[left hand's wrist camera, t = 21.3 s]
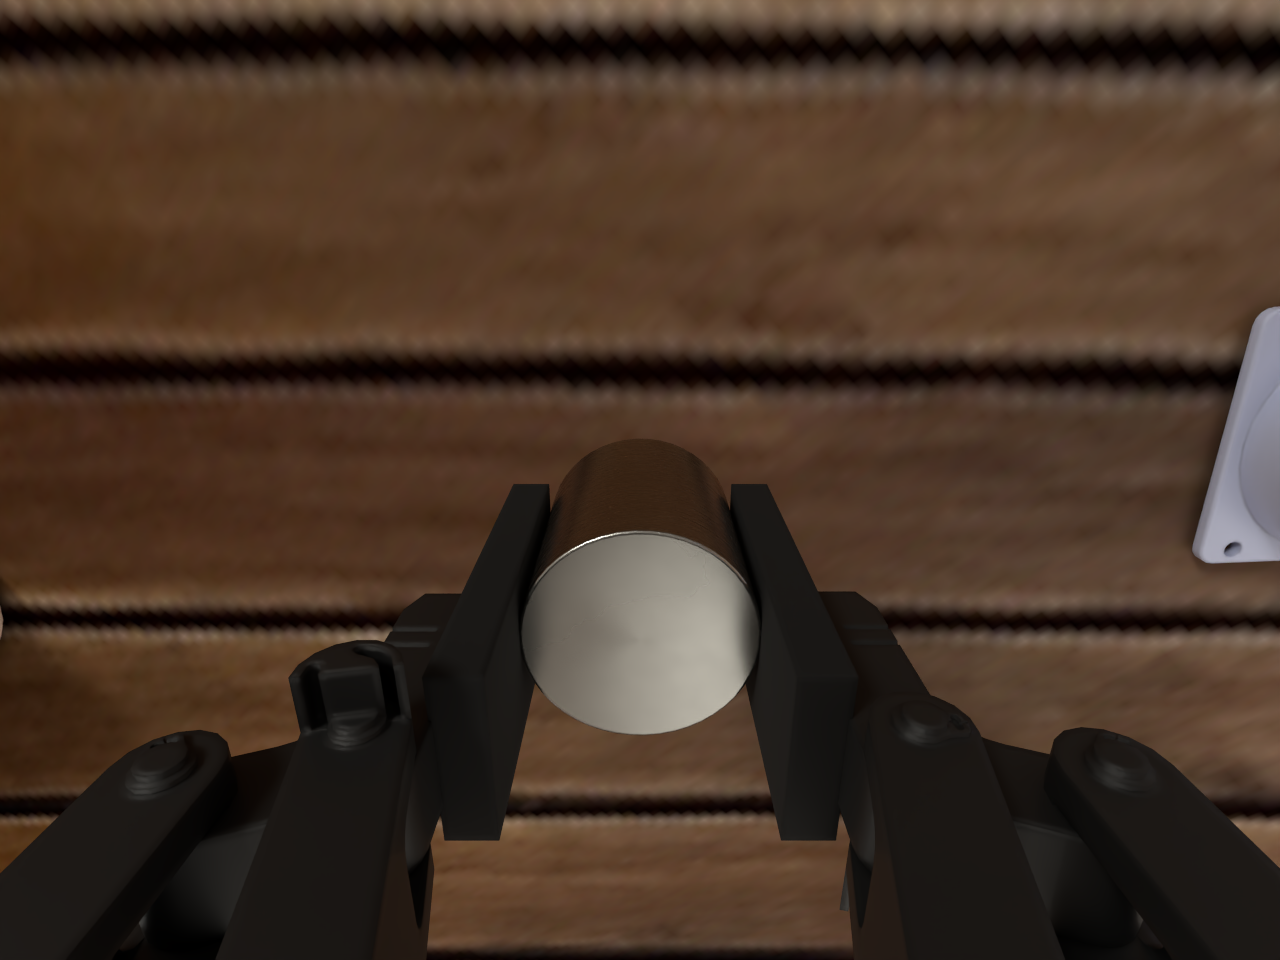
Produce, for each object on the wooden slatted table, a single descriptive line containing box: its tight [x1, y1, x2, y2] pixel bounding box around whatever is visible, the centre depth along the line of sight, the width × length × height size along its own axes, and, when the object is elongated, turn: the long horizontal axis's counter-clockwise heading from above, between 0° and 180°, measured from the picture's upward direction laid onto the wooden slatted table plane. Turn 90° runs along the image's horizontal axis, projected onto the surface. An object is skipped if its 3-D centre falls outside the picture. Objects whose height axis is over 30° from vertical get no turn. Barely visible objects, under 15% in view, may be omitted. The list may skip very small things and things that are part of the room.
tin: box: [519, 439, 761, 735], centre depth 13 cm, size 4×4×4 cm
